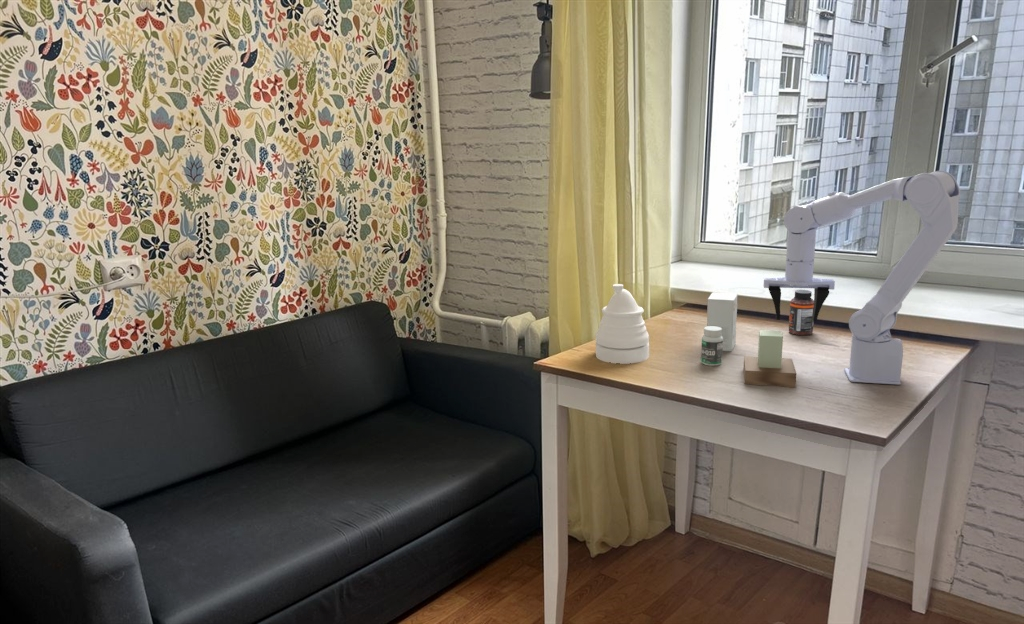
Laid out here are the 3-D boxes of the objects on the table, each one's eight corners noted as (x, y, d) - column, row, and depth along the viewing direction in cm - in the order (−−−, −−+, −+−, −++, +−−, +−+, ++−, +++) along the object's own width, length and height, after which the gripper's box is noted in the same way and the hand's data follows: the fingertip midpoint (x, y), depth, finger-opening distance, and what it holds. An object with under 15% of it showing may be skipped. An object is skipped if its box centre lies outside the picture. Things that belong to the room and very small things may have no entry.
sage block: (779, 361, 146) (781, 330, 144) (781, 368, 141) (783, 336, 140) (757, 360, 147) (759, 329, 145) (758, 367, 143) (760, 335, 141)
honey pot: (631, 367, 155) (632, 291, 151) (585, 357, 163) (584, 285, 159) (658, 353, 165) (659, 281, 160) (613, 345, 173) (613, 276, 169)
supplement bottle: (785, 329, 180) (788, 288, 178) (809, 329, 180) (812, 288, 177) (791, 335, 175) (794, 293, 172) (815, 336, 174) (818, 293, 171)
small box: (710, 340, 173) (712, 291, 170) (736, 343, 171) (738, 293, 167) (705, 349, 166) (707, 298, 163) (732, 352, 163) (734, 300, 160)
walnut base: (791, 371, 148) (792, 358, 147) (795, 387, 139) (796, 373, 138) (743, 368, 151) (744, 356, 150) (744, 383, 142) (745, 370, 141)
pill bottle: (696, 362, 157) (697, 327, 155) (709, 358, 159) (711, 324, 157) (713, 367, 153) (714, 332, 151) (726, 363, 155) (727, 328, 153)
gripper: (766, 262, 147) (762, 322, 150) (838, 263, 143) (833, 325, 146) (764, 257, 154) (761, 314, 157) (833, 258, 149) (829, 317, 153)
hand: (796, 319), depth 152 cm, fingers open, 7 cm apart
